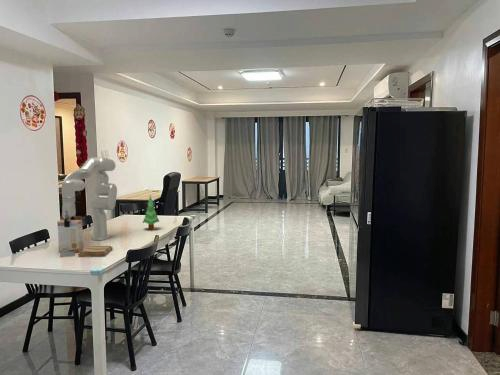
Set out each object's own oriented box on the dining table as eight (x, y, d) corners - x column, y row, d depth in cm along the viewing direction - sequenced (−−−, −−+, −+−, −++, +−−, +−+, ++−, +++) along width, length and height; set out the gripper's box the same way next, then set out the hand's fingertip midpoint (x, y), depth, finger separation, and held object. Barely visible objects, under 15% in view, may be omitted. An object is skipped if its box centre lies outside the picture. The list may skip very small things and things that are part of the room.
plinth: (88, 250, 238) (87, 245, 238) (112, 249, 239) (112, 245, 239) (78, 257, 222) (78, 252, 222) (104, 256, 224) (104, 251, 223)
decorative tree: (158, 227, 312) (158, 193, 310) (160, 230, 298) (159, 195, 295) (142, 228, 308) (141, 193, 305) (143, 231, 293) (142, 195, 291)
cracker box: (83, 250, 238) (82, 219, 236) (78, 252, 232) (77, 221, 230) (64, 249, 239) (62, 219, 237) (58, 252, 233) (56, 220, 231)
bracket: (61, 255, 227) (61, 249, 227) (75, 254, 230) (74, 248, 229) (60, 257, 222) (59, 251, 222) (74, 256, 225) (74, 249, 225)
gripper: (68, 198, 241) (69, 223, 242) (56, 201, 223) (58, 228, 225) (80, 197, 241) (81, 223, 243) (69, 201, 224) (70, 228, 226)
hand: (70, 225), depth 234 cm, fingers open, 8 cm apart
